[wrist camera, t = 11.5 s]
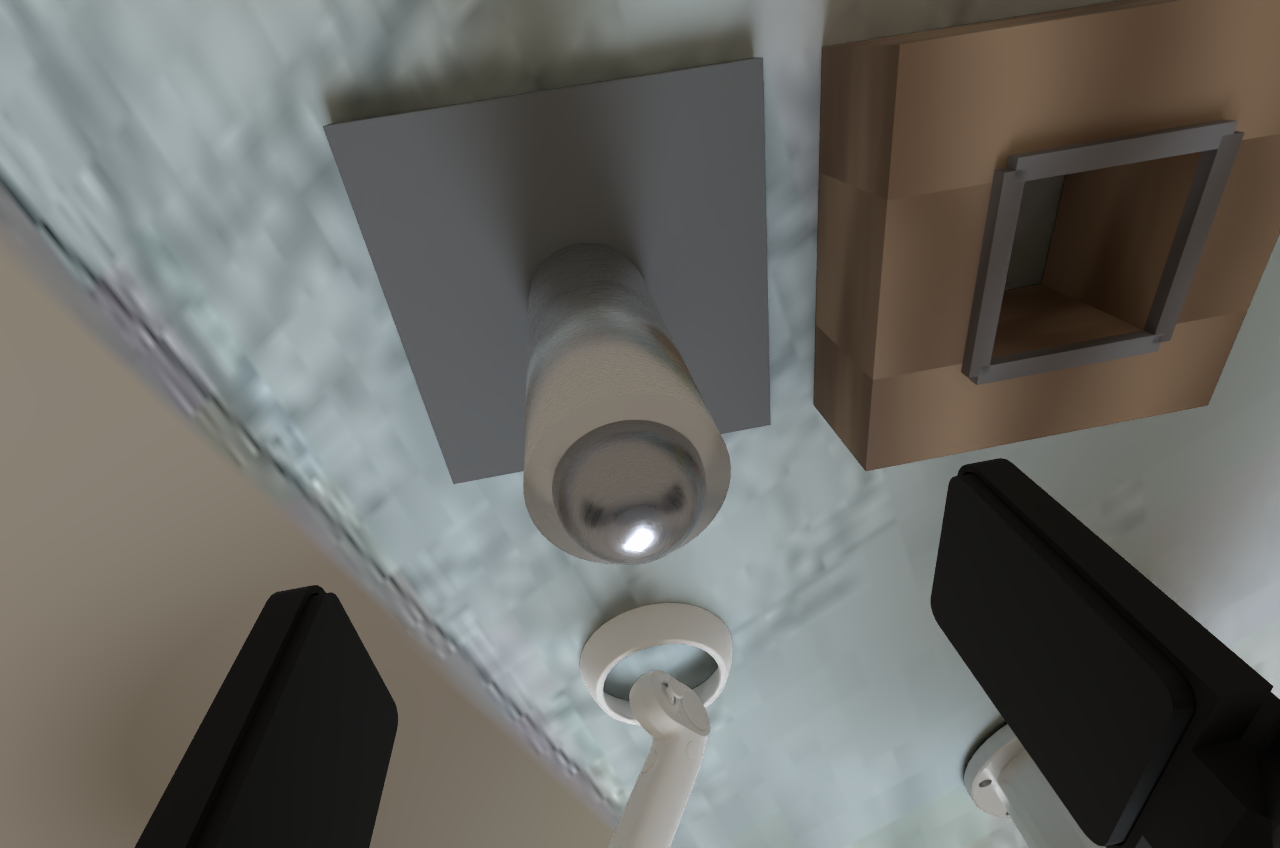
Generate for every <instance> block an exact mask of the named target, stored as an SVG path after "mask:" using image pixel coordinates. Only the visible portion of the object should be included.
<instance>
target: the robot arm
mask: <svg viewBox="0 0 1280 848" xmlns="http://www.w3.org/2000/svg"><path fill="white" fill-rule="evenodd" d="M931 608H932V612H933V615H934V617H935V620H936V621H937V623H938V625H939V626H940V628H941V629H942V630H943V632H944V633H945V635H946V636H947V638H948V639H949V641H950V642H951V643H952V645H953V646H954V648H955V649H956V651H957V652H958V653H959V655H960V656H961V658H962V659H963V661H964V662H965V663H966V665H967V666H968V668H969V669H970V671H971V672H972V674H973V675H974V676H975V678H976V679H977V681H978V682H979V684H980V685H981V686H982V688H983V689H984V691H985V692H986V694H987V695H988V697H989V698H990V699H991V701H992V702H993V704H994V705H995V707H996V708H997V709H998V711H999V712H1000V714H1001V715H1002V717H1003V718H1004V719H1005V721H1006V722H1007V724H1006V725H1005V726H1003V727H1002V728H1000V729H999V730H997V731H996V732H995V733H994V734H993V735H992V736H990V737H989V738H988V739H987V740H986V741H985V742H984V743H983V744H982V745H981V746H980V747H979V748H978V750H977V751H976V752H975V753H974V755H973V756H972V758H971V760H970V761H969V763H968V766H967V768H966V771H965V774H964V784H965V787H966V789H967V792H968V793H969V795H970V797H971V798H972V800H973V802H974V803H975V805H976V806H977V807H978V808H979V809H981V810H982V811H984V812H986V813H988V814H991V815H994V816H998V817H1006V818H1011V819H1012V820H1013V822H1014V823H1015V825H1016V827H1017V828H1018V830H1019V832H1020V833H1021V835H1022V836H1023V838H1024V840H1025V841H1026V843H1027V844H1028V846H1029V848H1280V699H1278V698H1277V697H1276V696H1275V695H1274V694H1273V693H1271V692H1270V691H1271V690H1272V688H1273V686H1272V685H1271V684H1270V683H1269V682H1268V681H1266V680H1265V679H1264V678H1263V677H1262V676H1261V675H1259V674H1258V673H1257V672H1256V671H1255V670H1254V669H1252V668H1251V667H1250V666H1249V665H1248V664H1247V663H1245V662H1244V661H1243V660H1242V659H1241V658H1240V657H1238V656H1237V655H1236V654H1235V653H1234V652H1232V651H1231V650H1230V649H1229V648H1228V647H1227V646H1225V645H1224V644H1223V643H1222V642H1221V641H1220V640H1218V639H1217V638H1216V637H1215V636H1214V635H1213V634H1211V633H1210V632H1209V631H1208V630H1207V629H1206V628H1204V627H1203V626H1202V625H1201V624H1200V623H1199V622H1197V621H1196V620H1195V619H1194V618H1193V617H1192V616H1190V615H1189V614H1188V613H1187V612H1186V611H1185V610H1183V609H1182V608H1181V607H1180V606H1179V605H1178V604H1176V603H1175V602H1174V601H1173V600H1172V599H1170V598H1169V597H1168V596H1167V595H1166V594H1165V593H1163V592H1162V591H1161V590H1160V589H1159V588H1158V587H1156V586H1155V585H1154V584H1153V583H1152V582H1151V581H1149V580H1148V579H1147V578H1146V577H1145V576H1144V575H1142V574H1141V573H1140V572H1139V571H1138V570H1137V569H1135V568H1134V567H1133V566H1132V565H1131V564H1130V563H1128V562H1127V561H1126V560H1125V559H1124V558H1123V557H1121V556H1120V555H1119V554H1118V553H1117V552H1115V551H1114V550H1113V549H1112V548H1111V547H1110V546H1108V545H1107V544H1106V543H1105V542H1104V541H1103V540H1101V539H1100V538H1099V537H1098V536H1097V535H1096V534H1094V533H1093V532H1092V531H1091V530H1090V529H1089V528H1087V527H1086V526H1085V525H1084V524H1083V523H1082V522H1080V521H1079V520H1078V519H1077V518H1076V517H1075V516H1073V515H1072V514H1071V513H1070V512H1069V511H1068V510H1066V509H1065V508H1064V507H1063V506H1062V505H1060V504H1059V503H1058V502H1057V501H1056V500H1055V499H1053V498H1052V497H1051V496H1050V495H1049V494H1048V493H1046V492H1045V491H1044V490H1043V489H1042V488H1041V487H1039V486H1038V485H1037V484H1036V483H1035V482H1034V481H1032V480H1031V479H1030V478H1029V477H1028V476H1027V475H1025V474H1024V473H1023V472H1022V471H1021V470H1020V469H1018V468H1017V467H1016V466H1015V465H1014V464H1013V463H1011V462H1010V461H1008V460H1006V459H1002V458H999V459H994V460H988V461H983V462H978V463H972V464H967V465H964V466H962V467H961V468H960V470H959V472H958V475H957V476H955V477H952V479H951V480H950V482H949V486H948V492H947V498H946V505H945V511H944V518H943V524H942V530H941V537H940V543H939V549H938V556H937V562H936V568H935V575H934V581H933V588H932V594H931ZM397 725H398V713H397V708H396V705H395V702H394V701H393V698H392V697H391V695H390V693H389V691H388V689H387V687H386V686H385V684H384V682H383V680H382V678H381V676H380V675H379V672H378V671H377V669H376V667H375V665H374V664H373V662H372V660H371V658H370V656H369V654H368V652H367V651H366V649H365V647H364V645H363V643H362V641H361V639H360V637H359V636H358V634H357V632H356V630H355V628H354V626H353V625H352V623H351V621H350V619H349V617H348V615H347V614H346V612H345V610H344V608H343V606H342V604H341V602H340V601H339V599H338V597H337V596H336V595H335V594H334V593H326V592H325V591H324V590H323V588H321V587H319V586H318V585H313V586H307V587H302V588H297V589H291V590H286V591H281V592H276V593H275V594H273V595H271V596H270V598H269V599H268V600H267V602H266V604H265V606H264V608H263V609H262V611H261V613H260V615H259V617H258V619H257V621H256V623H255V624H254V626H253V628H252V630H251V632H250V634H249V636H248V638H247V639H246V641H245V643H244V645H243V647H242V649H241V650H240V652H239V654H238V656H237V658H236V660H235V662H234V664H233V665H232V667H231V669H230V671H229V673H228V675H227V677H226V679H225V680H224V682H223V684H222V686H221V688H220V690H219V691H218V693H217V695H216V697H215V699H214V701H213V703H212V704H211V706H210V708H209V710H208V712H207V714H206V716H205V718H204V719H203V721H202V723H201V725H200V727H199V729H198V730H197V732H196V734H195V736H194V739H193V740H192V742H191V744H190V745H189V747H188V749H187V751H186V753H185V755H184V757H183V759H182V760H181V762H180V764H179V766H178V768H177V770H176V771H175V774H174V775H173V777H172V779H171V781H170V783H169V784H168V786H167V788H166V790H165V792H164V794H163V796H162V797H161V799H160V801H159V803H158V805H157V807H156V809H155V811H154V812H153V814H152V816H151V818H150V820H149V822H148V824H147V825H146V827H145V829H144V831H143V833H142V835H141V837H140V839H139V841H138V842H137V844H136V846H135V848H369V846H370V842H371V837H372V833H373V829H374V825H375V821H376V816H377V812H378V808H379V803H380V799H381V795H382V791H383V787H384V782H385V778H386V774H387V770H388V765H389V761H390V757H391V753H392V748H393V744H394V740H395V736H396V731H397Z"/></svg>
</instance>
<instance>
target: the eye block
mask: <svg viewBox="0 0 1280 848" xmlns="http://www.w3.org/2000/svg"><path fill="white" fill-rule="evenodd" d="M1060 175H1066V177H1065V181H1064V186H1063V190H1062V195H1061V199H1060V203H1059V208H1058V212H1057V217H1056V221H1055V226H1054V230H1053V235H1052V239H1051V244H1050V248H1049V253H1048V257H1047V261H1046V266H1045V270H1044V275H1043V279H1042V284H1037V285H1032V286H1026V287H1020V288H1015V289H1009V290H1004V289H1005V284H1006V278H1007V273H1008V268H1009V263H1010V257H1011V252H1012V247H1013V242H1014V237H1015V231H1016V226H1017V221H1018V216H1019V211H1020V205H1021V200H1022V195H1023V190H1024V185H1025V181H1031V180H1037V179H1043V178H1048V177H1054V176H1060ZM1279 234H1280V0H1121V1H1114V2H1108V3H1102V4H1095V5H1089V6H1082V7H1076V8H1070V9H1063V10H1057V11H1050V12H1044V13H1037V14H1031V15H1025V16H1018V17H1012V18H1005V19H999V20H993V21H986V22H980V23H973V24H967V25H961V26H954V27H948V28H941V29H935V30H928V31H922V32H916V33H909V34H903V35H896V36H890V37H884V38H877V39H871V40H864V41H858V42H852V43H845V44H839V45H832V46H826V47H822V71H821V113H820V156H819V199H818V242H817V285H816V327H815V370H814V406H815V407H816V409H817V410H818V411H819V412H820V414H821V415H822V416H823V417H824V419H825V420H826V421H827V423H828V424H829V425H830V426H831V428H832V429H833V430H834V432H835V433H836V434H837V435H838V437H839V438H840V439H841V440H842V442H843V443H844V444H845V446H846V447H847V448H848V449H849V451H850V452H851V453H852V454H853V456H854V457H855V458H856V460H857V461H858V462H859V463H860V465H861V466H862V467H863V468H864V470H865V471H869V470H874V469H880V468H885V467H890V466H895V465H900V464H906V463H911V462H916V461H921V460H926V459H931V458H937V457H942V456H947V455H952V454H957V453H963V452H968V451H973V450H978V449H983V448H989V447H994V446H999V445H1004V444H1009V443H1015V442H1020V441H1025V440H1030V439H1035V438H1041V437H1046V436H1051V435H1056V434H1061V433H1066V432H1072V431H1077V430H1082V429H1087V428H1092V427H1098V426H1103V425H1108V424H1113V423H1118V422H1124V421H1129V420H1134V419H1139V418H1144V417H1150V416H1155V415H1160V414H1165V413H1170V412H1176V411H1181V410H1186V409H1191V408H1196V407H1201V406H1207V405H1208V404H1209V401H1210V399H1211V397H1212V394H1213V392H1214V389H1215V387H1216V385H1217V382H1218V380H1219V377H1220V375H1221V373H1222V370H1223V368H1224V365H1225V363H1226V361H1227V358H1228V356H1229V353H1230V351H1231V349H1232V346H1233V344H1234V341H1235V339H1236V337H1237V334H1238V332H1239V329H1240V327H1241V325H1242V322H1243V320H1244V318H1245V315H1246V313H1247V310H1248V308H1249V306H1250V303H1251V301H1252V298H1253V296H1254V294H1255V291H1256V289H1257V286H1258V284H1259V282H1260V279H1261V277H1262V274H1263V272H1264V270H1265V267H1266V265H1267V262H1268V260H1269V258H1270V255H1271V253H1272V250H1273V248H1274V246H1275V243H1276V241H1277V238H1278V236H1279Z"/></svg>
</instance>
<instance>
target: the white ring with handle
mask: <svg viewBox="0 0 1280 848" xmlns="http://www.w3.org/2000/svg"><path fill="white" fill-rule="evenodd" d="M662 644H685V645H691V646H694V647H697V648H700V649H702V650H704V651H706V652H707V653H708V654H710V655H711V656H712V657H713V658H714V659H715V661H716V662H717V664H718V668H717V670H716V671H715V672H714V673H713V674H712V675H711V676H710V677H709V678H708V679H707V680H706V681H705V682H703V683H702V684H701V685H699V686H698V687H696V688H694V689H693V690H692V689H690V688H689V687H688V686H686V685H684V684H683V683H681V682H680V681H678V680H676V679H675V678H673V677H671V676H670V675H668V674H667V673H665V672H663V671H661V670H655V671H652V672H649V673H646V674H643V675H641V676H640V677H639V678H638V679H637V681H636V682H635V683H634V685H633V686H632V688H631V690H630V693H629V701H627V700H623V699H619V698H616V697H613V696H611V695H609V694H607V693H605V692H604V691H603V687H604V681H605V679H606V677H607V675H608V673H609V672H610V671H611V670H612V668H613V667H614V666H615V665H616V664H617V663H619V662H620V661H621V660H622V659H624V658H625V657H627V656H628V655H630V654H632V653H634V652H636V651H639V650H641V649H644V648H648V647H651V646H655V645H662ZM731 661H732V638H731V635H730V632H729V630H728V629H727V627H726V625H725V624H724V623H723V622H722V621H721V620H720V619H719V618H718V617H717V616H716V615H714V614H712V613H711V612H709V611H707V610H705V609H702V608H699V607H696V606H693V605H688V604H681V603H659V604H652V605H645V606H642V607H638V608H635V609H631V610H629V611H627V612H624V613H622V614H620V615H618V616H616V617H614V618H613V619H611V620H609V621H608V622H606V623H605V624H603V625H602V626H601V627H600V628H599V629H598V630H597V631H595V632H594V633H593V635H592V636H591V637H590V639H589V640H588V641H587V643H586V644H585V646H584V649H583V651H582V653H581V658H580V672H581V676H582V678H583V681H584V683H585V685H586V687H587V689H588V691H589V692H590V694H591V696H592V697H593V699H594V700H595V701H596V702H597V704H598V705H599V706H600V707H601V708H602V709H603V710H604V712H605V713H607V714H608V715H610V716H611V717H612V718H614V719H616V720H619V721H621V722H624V723H628V724H633V725H641V726H642V727H643V728H644V729H645V730H646V731H647V732H648V733H649V734H650V735H652V736H653V743H652V747H651V749H650V753H649V755H648V757H647V759H646V762H645V764H644V766H643V769H642V771H641V774H640V775H639V777H638V779H637V782H636V784H635V786H634V789H633V791H632V793H631V796H630V798H629V800H628V802H627V805H626V807H625V809H624V812H623V814H622V816H621V819H620V821H619V823H618V825H617V828H616V830H615V832H614V835H613V837H612V839H611V842H610V844H609V846H608V848H670V846H671V843H672V841H673V838H674V835H675V833H676V830H677V827H678V825H679V822H680V820H681V817H682V814H683V812H684V809H685V806H686V804H687V801H688V799H689V796H690V793H691V791H692V788H693V785H694V783H695V780H696V777H697V775H698V772H699V769H700V766H701V763H702V760H703V756H704V750H705V745H706V741H707V738H708V735H709V732H710V721H709V717H708V714H707V711H706V709H705V708H706V707H707V706H709V705H710V704H711V703H712V702H713V701H714V700H715V699H716V698H717V697H718V696H719V695H720V693H721V692H722V690H723V688H724V687H725V683H726V680H727V677H728V674H729V671H730V667H731Z"/></svg>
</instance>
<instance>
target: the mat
mask: <svg viewBox="0 0 1280 848" xmlns="http://www.w3.org/2000/svg"><path fill="white" fill-rule="evenodd" d="M323 128H324V131H325V134H326V136H327V139H328V142H329V145H330V147H331V150H332V153H333V155H334V158H335V161H336V164H337V166H338V169H339V172H340V175H341V177H342V180H343V183H344V186H345V188H346V191H347V194H348V196H349V199H350V202H351V205H352V207H353V210H354V213H355V216H356V218H357V221H358V224H359V227H360V229H361V232H362V235H363V238H364V240H365V243H366V246H367V248H368V251H369V254H370V257H371V259H372V262H373V265H374V268H375V270H376V273H377V276H378V279H379V281H380V284H381V287H382V290H383V292H384V295H385V298H386V300H387V303H388V306H389V309H390V311H391V314H392V317H393V320H394V322H395V325H396V328H397V331H398V333H399V336H400V339H401V342H402V344H403V347H404V350H405V352H406V355H407V358H408V361H409V363H410V366H411V369H412V372H413V374H414V377H415V380H416V383H417V385H418V388H419V391H420V394H421V396H422V399H423V402H424V404H425V407H426V410H427V413H428V415H429V418H430V421H431V424H432V426H433V429H434V432H435V435H436V437H437V440H438V443H439V445H440V448H441V451H442V454H443V456H444V459H445V462H446V465H447V467H448V470H449V473H450V476H451V478H452V481H453V484H456V483H462V482H467V481H472V480H478V479H483V478H488V477H494V476H499V475H504V474H510V473H515V472H520V471H524V445H525V407H526V369H527V331H528V297H529V289H530V285H531V282H532V279H533V277H534V275H535V273H536V271H537V269H538V268H539V267H540V265H541V264H542V263H543V262H544V261H545V260H546V259H547V258H548V257H549V256H550V255H552V254H553V253H554V252H556V251H558V250H560V249H561V248H564V247H566V246H569V245H572V244H577V243H585V242H589V243H599V244H604V245H607V246H610V247H612V248H614V249H617V250H618V251H620V252H621V253H623V254H624V255H626V256H627V257H628V258H629V259H630V260H631V261H632V262H633V263H634V264H635V266H636V267H637V269H638V270H639V272H640V274H641V276H642V278H643V280H644V282H645V284H646V286H647V288H648V290H649V292H650V294H651V296H652V298H653V300H654V302H655V304H656V306H657V308H658V310H659V312H660V314H661V316H662V318H663V320H664V322H665V324H666V326H667V328H668V330H669V332H670V334H671V336H672V338H673V340H674V342H675V344H676V346H677V348H678V350H679V352H680V354H681V356H682V358H683V360H684V362H685V364H686V366H687V368H688V370H689V372H690V374H691V376H692V378H693V380H694V382H695V384H696V386H697V388H698V390H699V392H700V394H701V396H702V398H703V400H704V402H705V404H706V406H707V408H708V410H709V412H710V414H711V416H712V418H713V420H714V422H715V424H716V426H717V428H718V430H719V432H720V434H724V433H729V432H734V431H740V430H745V429H750V428H756V427H761V426H766V425H770V378H769V328H768V279H767V229H766V180H765V131H764V81H763V58H749V59H743V60H736V61H730V62H723V63H717V64H711V65H704V66H698V67H691V68H685V69H678V70H672V71H666V72H659V73H653V74H646V75H640V76H634V77H627V78H621V79H614V80H608V81H602V82H595V83H589V84H582V85H576V86H569V87H563V88H557V89H550V90H544V91H537V92H531V93H525V94H518V95H512V96H505V97H499V98H493V99H486V100H480V101H473V102H467V103H460V104H454V105H448V106H441V107H435V108H428V109H422V110H416V111H409V112H403V113H396V114H390V115H384V116H377V117H371V118H364V119H358V120H352V121H345V122H339V123H332V124H329V125H326V126H323Z"/></svg>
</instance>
